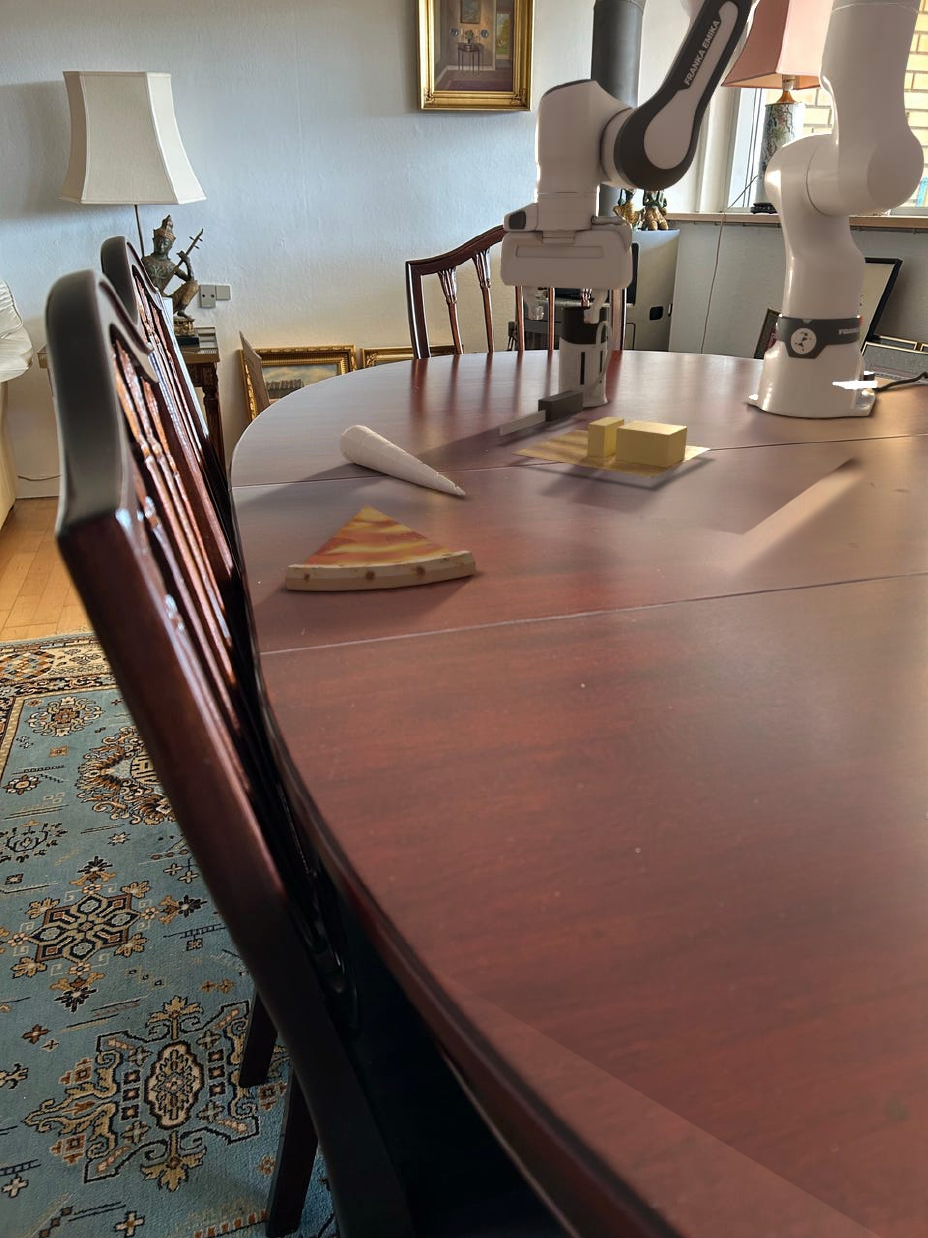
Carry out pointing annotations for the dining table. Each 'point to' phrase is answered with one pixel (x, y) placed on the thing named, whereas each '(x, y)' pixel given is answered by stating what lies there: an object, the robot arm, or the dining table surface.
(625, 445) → the butter
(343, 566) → the pizza slice
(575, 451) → the board
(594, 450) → the block
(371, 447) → the unicorn horn
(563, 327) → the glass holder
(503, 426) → the knife
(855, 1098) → the dining table surface
